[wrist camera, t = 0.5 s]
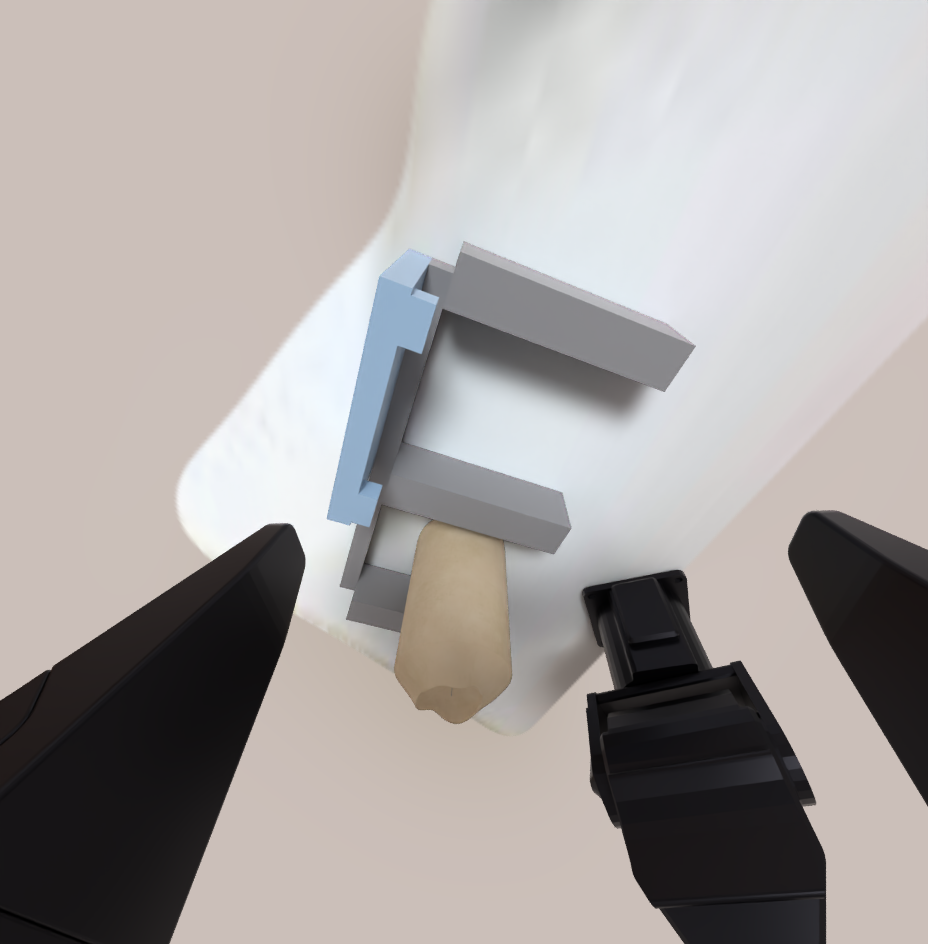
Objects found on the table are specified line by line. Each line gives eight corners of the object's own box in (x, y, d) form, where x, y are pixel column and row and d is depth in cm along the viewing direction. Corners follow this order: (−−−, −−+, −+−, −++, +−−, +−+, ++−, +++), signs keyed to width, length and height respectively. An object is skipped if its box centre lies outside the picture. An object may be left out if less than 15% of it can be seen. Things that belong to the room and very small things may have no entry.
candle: (508, 570, 28) (519, 734, 20) (427, 577, 28) (405, 738, 20) (499, 507, 25) (507, 669, 16) (408, 516, 25) (372, 676, 17)
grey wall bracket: (486, 614, 30) (486, 698, 26) (328, 574, 29) (296, 656, 24) (667, 324, 18) (734, 376, 13) (415, 222, 17) (387, 239, 12)
